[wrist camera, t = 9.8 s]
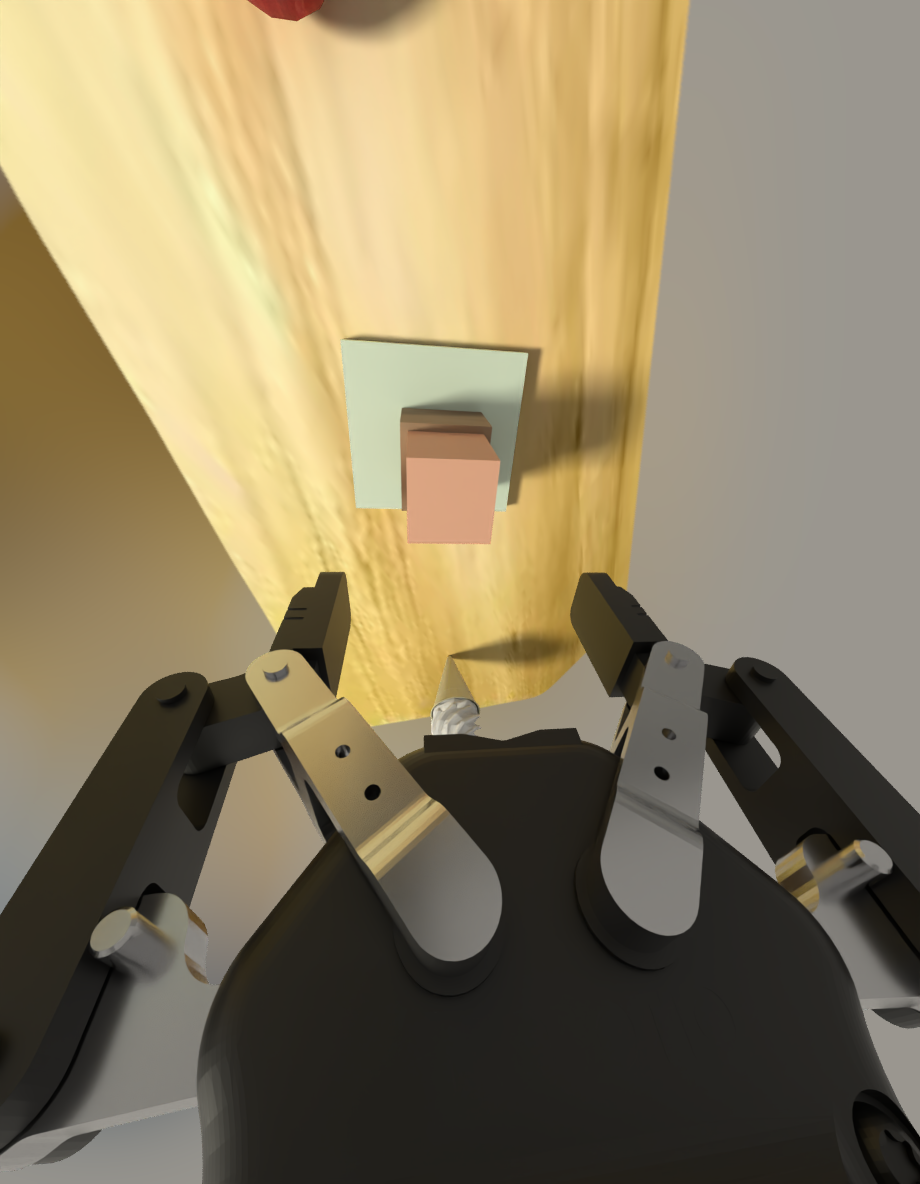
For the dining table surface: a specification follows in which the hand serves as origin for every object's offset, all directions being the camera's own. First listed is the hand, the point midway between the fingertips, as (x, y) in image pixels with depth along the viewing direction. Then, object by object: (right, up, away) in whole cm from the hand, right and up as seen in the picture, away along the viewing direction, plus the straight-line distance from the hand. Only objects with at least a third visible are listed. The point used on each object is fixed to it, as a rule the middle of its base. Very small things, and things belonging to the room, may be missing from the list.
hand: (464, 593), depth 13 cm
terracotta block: (-1, +8, +13) cm, 16 cm away
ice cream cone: (-1, -8, +33) cm, 33 cm away
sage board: (-2, +13, +18) cm, 22 cm away
